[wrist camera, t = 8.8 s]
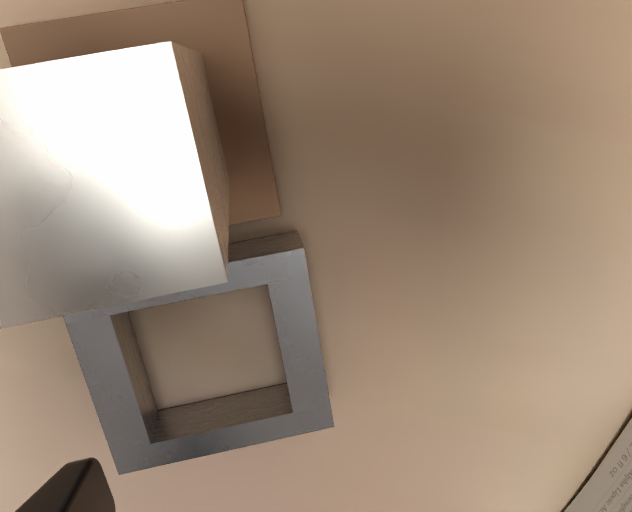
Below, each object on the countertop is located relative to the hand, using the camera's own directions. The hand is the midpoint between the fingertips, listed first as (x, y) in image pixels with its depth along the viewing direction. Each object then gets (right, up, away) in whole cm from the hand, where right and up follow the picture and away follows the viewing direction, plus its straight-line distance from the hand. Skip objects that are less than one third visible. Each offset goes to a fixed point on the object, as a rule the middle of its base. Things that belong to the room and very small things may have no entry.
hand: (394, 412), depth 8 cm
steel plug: (-6, +6, +9) cm, 12 cm away
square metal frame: (-5, -1, +12) cm, 13 cm away
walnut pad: (-7, +7, +9) cm, 13 cm away
